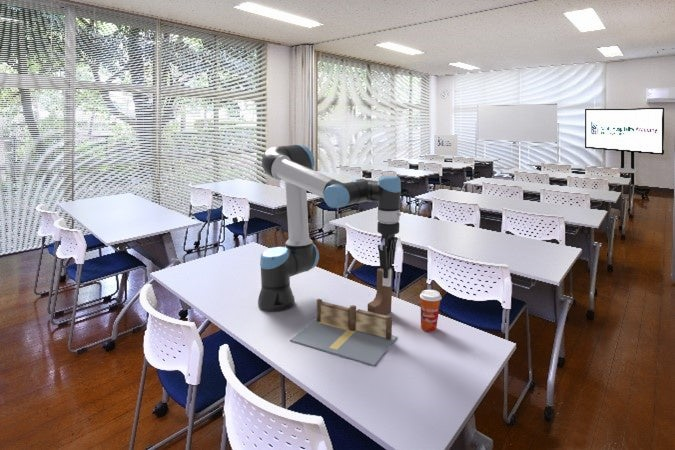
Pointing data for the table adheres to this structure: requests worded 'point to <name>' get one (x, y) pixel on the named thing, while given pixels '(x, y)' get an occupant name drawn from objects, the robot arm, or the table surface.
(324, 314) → the fence fixed
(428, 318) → the paper cup
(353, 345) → the card
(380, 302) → the wooden block
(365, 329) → the fence gate
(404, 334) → the table surface
